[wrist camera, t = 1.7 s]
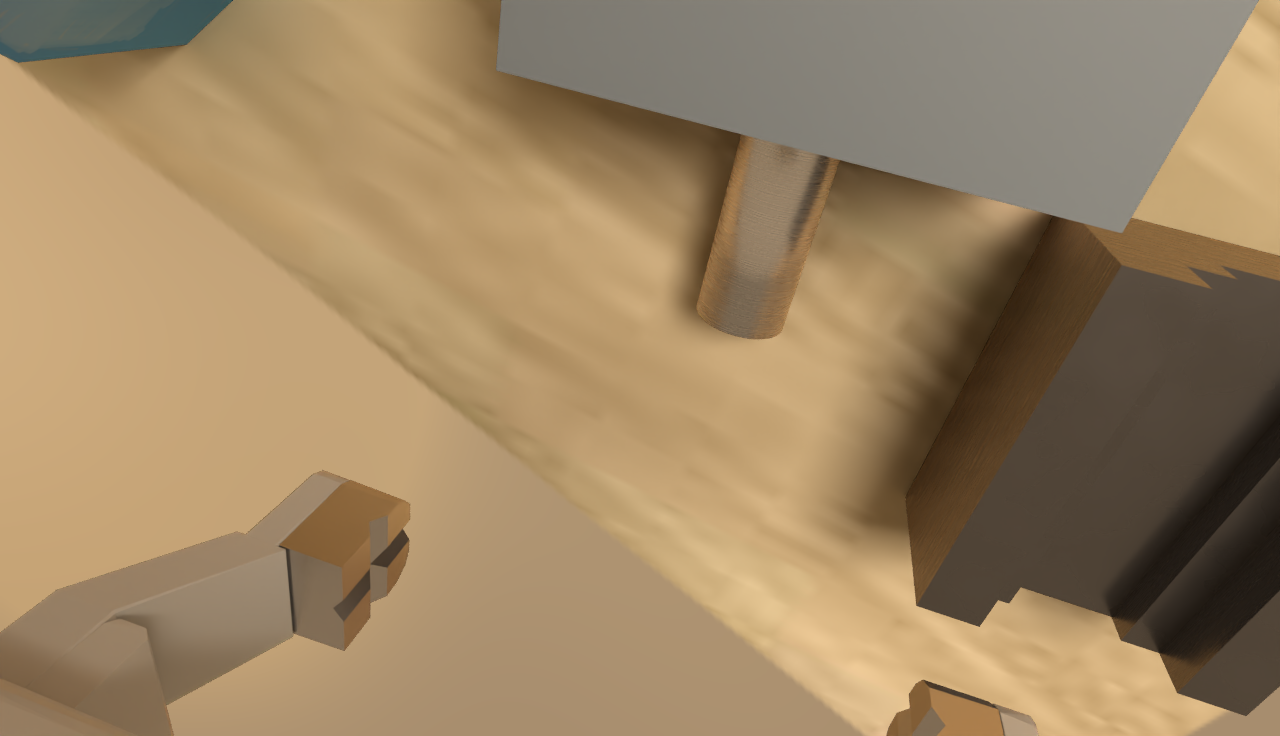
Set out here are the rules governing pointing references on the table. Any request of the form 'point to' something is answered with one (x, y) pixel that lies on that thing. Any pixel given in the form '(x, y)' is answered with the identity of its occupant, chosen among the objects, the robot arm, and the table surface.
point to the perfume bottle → (98, 26)
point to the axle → (763, 237)
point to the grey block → (909, 82)
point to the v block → (1122, 454)
